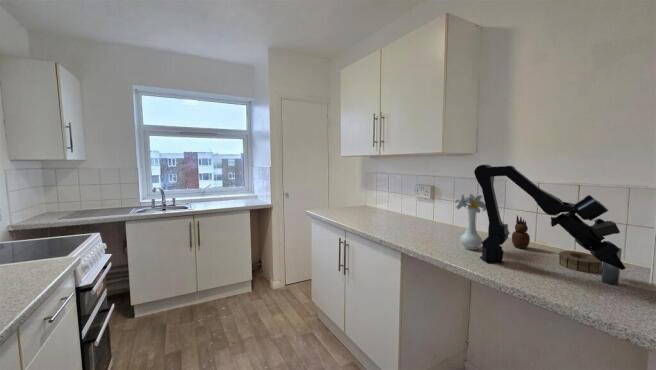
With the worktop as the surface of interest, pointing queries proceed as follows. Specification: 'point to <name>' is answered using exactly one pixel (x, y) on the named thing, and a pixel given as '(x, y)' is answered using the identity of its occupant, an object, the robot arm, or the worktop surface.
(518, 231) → the wooden figurine
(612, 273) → the tall steel post
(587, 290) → the worktop surface
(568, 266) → the segmented wooden ring
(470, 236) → the flower vase
